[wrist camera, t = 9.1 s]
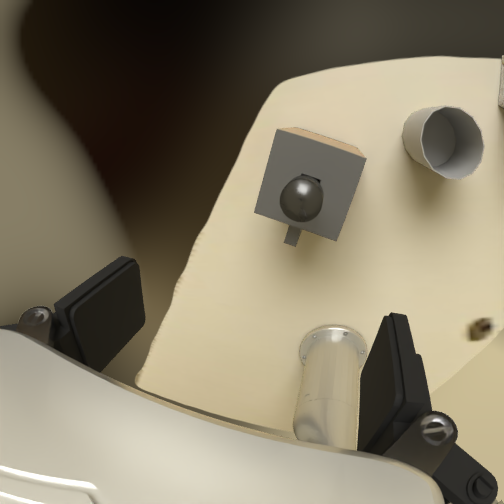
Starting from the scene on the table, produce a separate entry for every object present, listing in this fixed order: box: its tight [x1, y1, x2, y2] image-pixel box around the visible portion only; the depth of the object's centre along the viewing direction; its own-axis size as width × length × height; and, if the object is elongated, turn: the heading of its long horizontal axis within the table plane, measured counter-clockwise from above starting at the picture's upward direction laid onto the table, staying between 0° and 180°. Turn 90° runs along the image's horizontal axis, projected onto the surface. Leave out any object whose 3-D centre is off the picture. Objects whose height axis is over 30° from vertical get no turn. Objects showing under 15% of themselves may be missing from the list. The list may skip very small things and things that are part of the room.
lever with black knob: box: [280, 174, 324, 222], centre depth 31 cm, size 6×6×17 cm
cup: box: [402, 106, 484, 179], centre depth 31 cm, size 8×8×10 cm
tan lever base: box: [254, 127, 366, 247], centre depth 36 cm, size 12×9×14 cm
